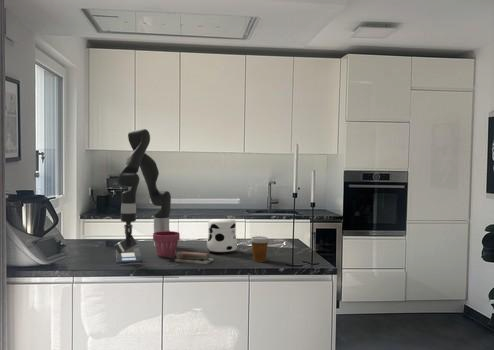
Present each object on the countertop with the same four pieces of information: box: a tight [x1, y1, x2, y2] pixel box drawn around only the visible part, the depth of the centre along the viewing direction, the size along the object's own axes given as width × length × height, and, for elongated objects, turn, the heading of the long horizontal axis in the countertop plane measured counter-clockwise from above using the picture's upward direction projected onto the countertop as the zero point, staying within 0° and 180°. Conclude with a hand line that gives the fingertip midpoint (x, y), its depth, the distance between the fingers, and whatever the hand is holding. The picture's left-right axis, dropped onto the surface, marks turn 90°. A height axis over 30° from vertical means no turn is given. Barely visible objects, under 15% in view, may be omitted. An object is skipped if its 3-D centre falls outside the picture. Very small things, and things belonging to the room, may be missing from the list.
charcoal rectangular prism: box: [113, 234, 138, 254], centre depth 241 cm, size 10×3×5 cm, turn 107°
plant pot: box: [152, 230, 181, 259], centre depth 254 cm, size 14×14×13 cm
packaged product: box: [174, 250, 214, 265], centre depth 245 cm, size 18×5×10 cm
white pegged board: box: [115, 247, 142, 265], centre depth 247 cm, size 12×22×4 cm, turn 17°
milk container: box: [206, 218, 238, 254], centre depth 268 cm, size 17×17×18 cm
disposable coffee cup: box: [250, 235, 270, 263], centre depth 247 cm, size 10×10×12 cm
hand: (128, 245), depth 241 cm, fingers closed on charcoal rectangular prism, 2 cm apart
